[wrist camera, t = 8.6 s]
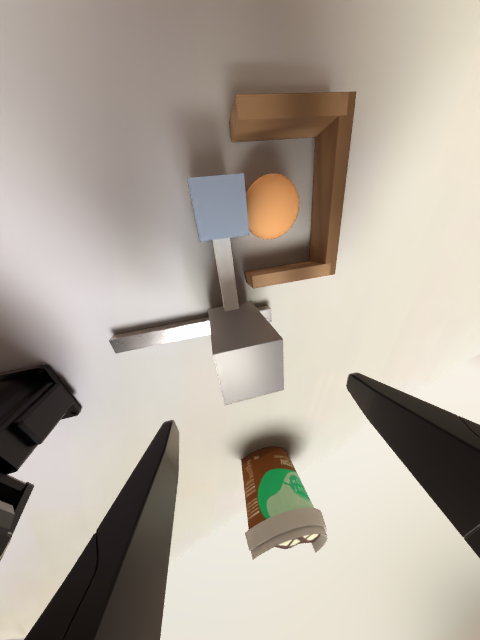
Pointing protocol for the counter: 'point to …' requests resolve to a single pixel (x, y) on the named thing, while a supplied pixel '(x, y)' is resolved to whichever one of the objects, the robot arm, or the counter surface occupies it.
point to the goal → (329, 167)
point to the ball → (271, 206)
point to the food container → (278, 504)
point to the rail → (168, 333)
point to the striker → (235, 296)
